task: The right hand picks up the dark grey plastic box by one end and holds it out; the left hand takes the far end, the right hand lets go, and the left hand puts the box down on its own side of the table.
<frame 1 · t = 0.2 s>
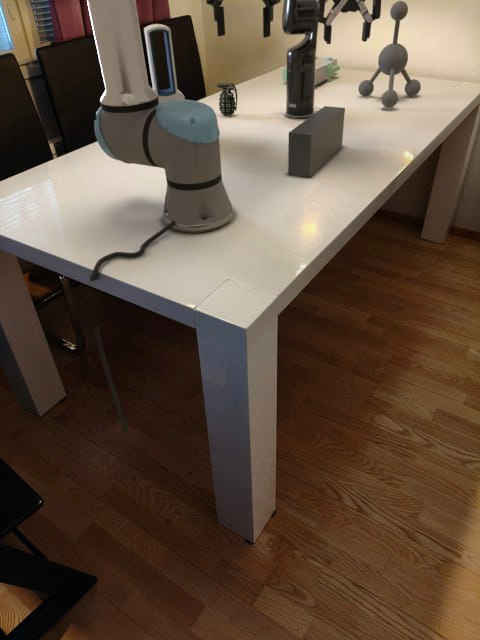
left hand: (243, 36, 129), 28 cm above the table, tool pointing down, fingers open, 13 cm apart
right hand: (346, 42, 114), 28 cm above the table, tool pointing down, fingers open, 8 cm apart
molecular model: (392, 100, 175), on the table
grey device with connectors: (310, 79, 207), on the table
electronic device: (170, 134, 156), on the table
box: (316, 159, 132), on the table
grenade: (228, 115, 169), on the table
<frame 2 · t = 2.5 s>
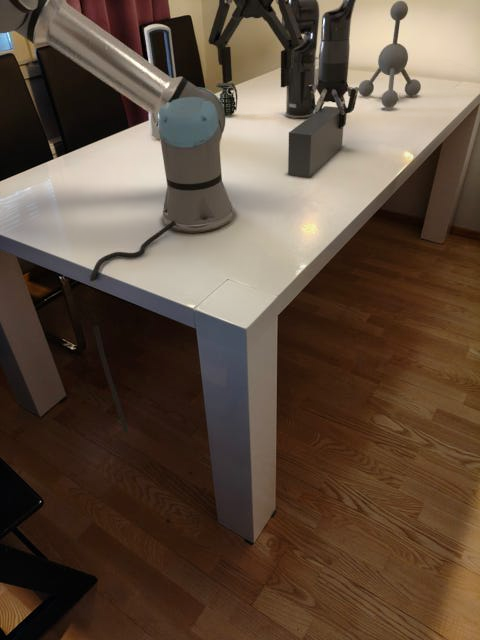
left hand: (255, 83, 103), 24 cm above the table, tool pointing down, fingers open, 13 cm apart
right hand: (329, 126, 134), 6 cm above the table, tool pointing down, fingers closed on box, 6 cm apart
box: (316, 159, 132), on the table, touching right hand
everything else where it was.
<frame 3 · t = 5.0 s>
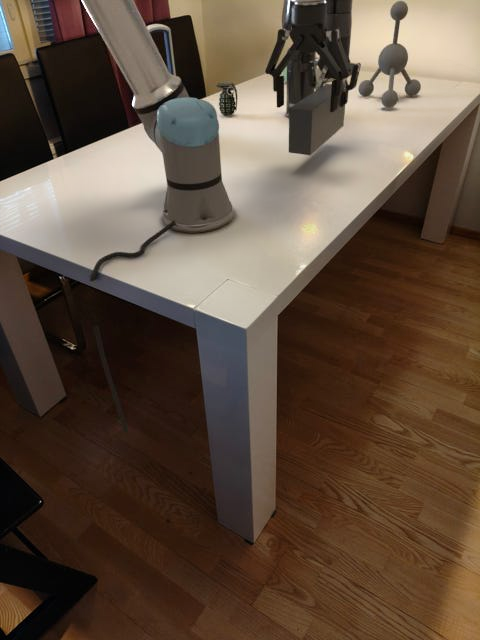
left hand: (306, 108, 116), 15 cm above the table, tool pointing down, fingers open, 13 cm apart
right hand: (331, 104, 131), 12 cm above the table, tool pointing down, fingers closed on box, 6 cm apart
box: (317, 138, 129), point 6 cm above the table, touching right hand
everything else where it was.
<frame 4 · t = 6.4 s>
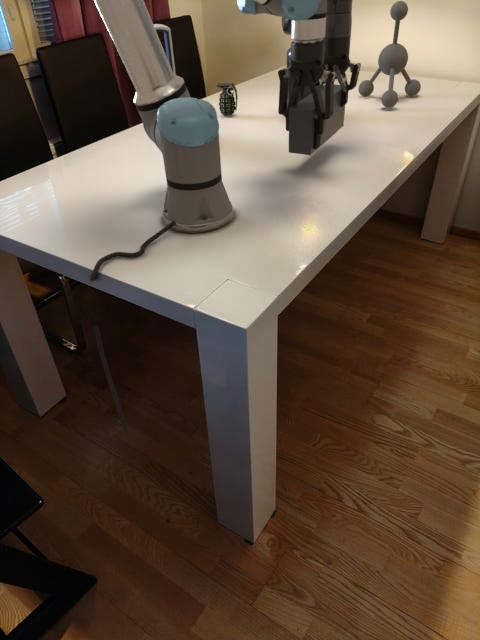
left hand: (304, 145, 122), 7 cm above the table, tool pointing down, fingers closed on box, 6 cm apart
right hand: (331, 104, 131), 12 cm above the table, tool pointing down, fingers closed on box, 6 cm apart
box: (317, 138, 129), point 6 cm above the table, touching left hand, right hand
everything else where it was.
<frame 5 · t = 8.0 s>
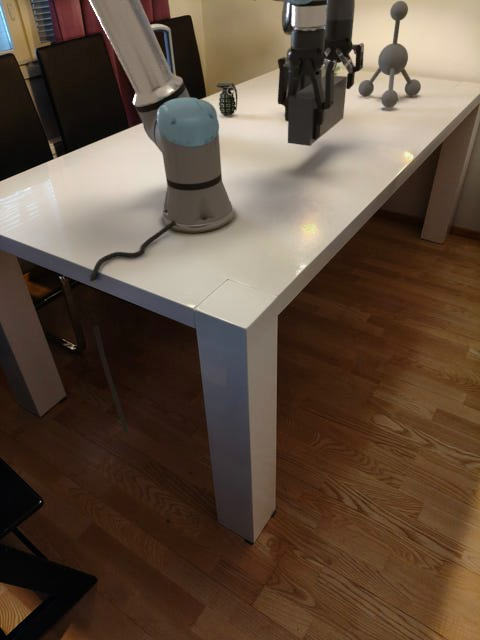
left hand: (303, 136, 120), 9 cm above the table, tool pointing down, fingers closed on box, 6 cm apart
right hand: (333, 87, 130), 16 cm above the table, tool pointing down, fingers open, 8 cm apart
box: (317, 129, 127), point 8 cm above the table, touching left hand
everything else where it was.
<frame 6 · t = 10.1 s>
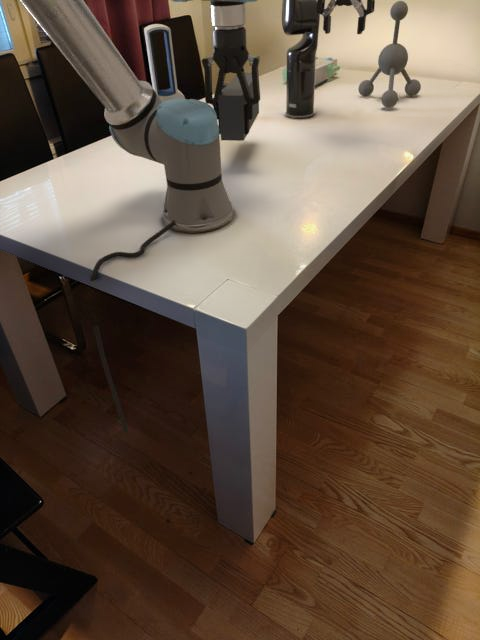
left hand: (234, 132, 123), 10 cm above the table, tool pointing down, fingers closed on box, 6 cm apart
right hand: (343, 33, 125), 28 cm above the table, tool pointing down, fingers open, 8 cm apart
box: (241, 125, 131), point 9 cm above the table, touching left hand
everything else where it was.
when the left hand's fingers open (2 cm above the table, at t = 14.0 s): box drops 1 cm, on the table.
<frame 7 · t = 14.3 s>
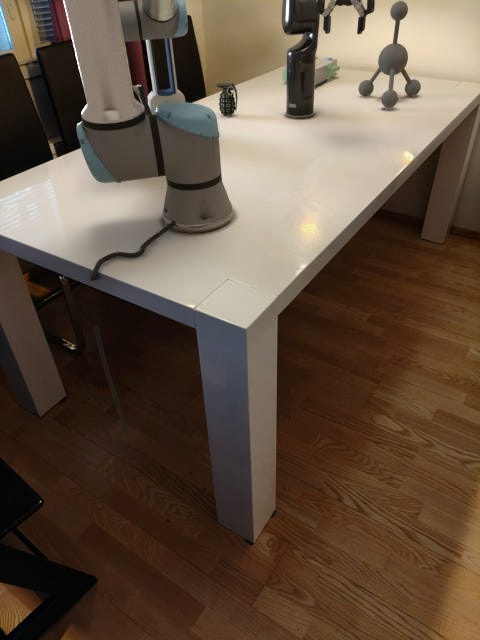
left hand: (128, 155, 134), 3 cm above the table, tool pointing down, fingers open, 9 cm apart
right hand: (343, 33, 125), 28 cm above the table, tool pointing down, fingers open, 8 cm apart
box: (123, 155, 142), on the table
everything else where it was.
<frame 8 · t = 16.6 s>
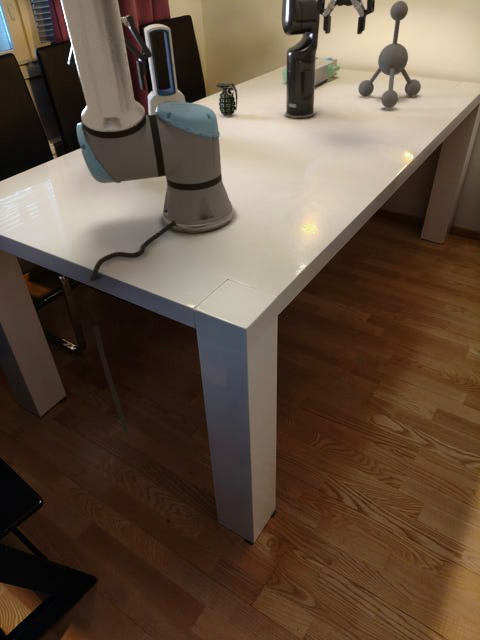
left hand: (117, 93, 124), 19 cm above the table, tool pointing down, fingers open, 13 cm apart
right hand: (343, 33, 125), 28 cm above the table, tool pointing down, fingers open, 8 cm apart
nothing on the table moved.
at the end: box inside the target area (9.2 cm from its centre), on the table; the left hand is holding nothing; the right hand is holding nothing; box at rest at the end (0.0 cm/s) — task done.
